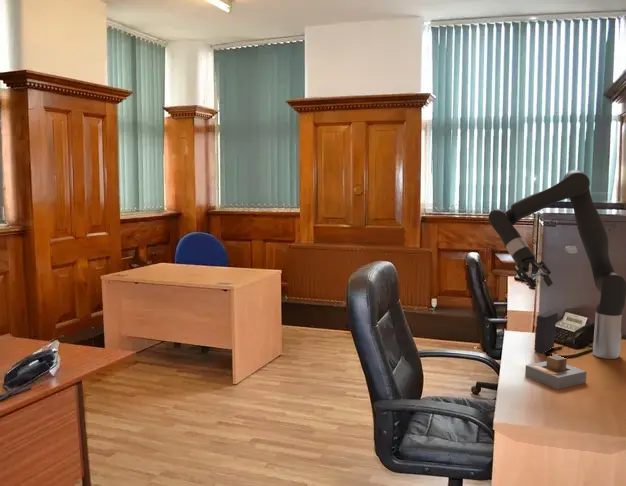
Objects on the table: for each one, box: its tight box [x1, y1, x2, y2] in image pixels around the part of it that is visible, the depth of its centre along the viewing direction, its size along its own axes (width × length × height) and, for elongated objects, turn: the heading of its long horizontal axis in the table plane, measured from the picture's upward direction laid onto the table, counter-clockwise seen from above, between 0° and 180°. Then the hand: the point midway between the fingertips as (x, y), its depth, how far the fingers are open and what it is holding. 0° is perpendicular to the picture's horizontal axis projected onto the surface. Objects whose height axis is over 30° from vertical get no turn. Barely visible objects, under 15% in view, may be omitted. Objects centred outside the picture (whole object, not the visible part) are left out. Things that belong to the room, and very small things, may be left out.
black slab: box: [533, 311, 558, 354], centre depth 245 cm, size 11×4×15 cm, turn 134°
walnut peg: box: [546, 355, 568, 373], centre depth 211 cm, size 4×4×8 cm
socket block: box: [524, 360, 587, 390], centre depth 212 cm, size 14×14×4 cm
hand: (542, 286), depth 226 cm, fingers open, 8 cm apart
